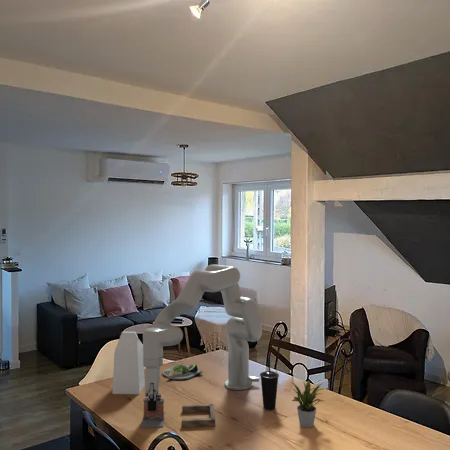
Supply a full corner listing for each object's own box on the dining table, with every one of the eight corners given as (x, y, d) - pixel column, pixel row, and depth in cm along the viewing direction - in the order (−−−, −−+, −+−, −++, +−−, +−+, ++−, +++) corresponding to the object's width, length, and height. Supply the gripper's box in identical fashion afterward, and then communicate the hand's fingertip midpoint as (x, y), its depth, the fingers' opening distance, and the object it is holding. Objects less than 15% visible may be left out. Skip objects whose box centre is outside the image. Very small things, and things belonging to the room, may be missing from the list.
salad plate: (179, 385, 209) (179, 375, 209) (153, 376, 220) (153, 367, 220) (206, 374, 224) (206, 364, 224) (181, 366, 235) (181, 357, 235)
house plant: (334, 433, 162) (334, 388, 161) (297, 436, 160) (297, 390, 159) (319, 416, 176) (319, 374, 176) (285, 418, 174) (285, 376, 173)
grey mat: (164, 413, 179) (164, 412, 179) (162, 427, 167) (162, 426, 167) (144, 413, 178) (144, 412, 178) (141, 427, 166) (141, 426, 166)
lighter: (165, 417, 174) (165, 391, 174) (162, 421, 170) (162, 395, 170) (145, 416, 175) (145, 390, 175) (142, 420, 172) (142, 394, 172)
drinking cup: (278, 412, 179) (278, 362, 179) (258, 410, 181) (258, 361, 180) (279, 404, 187) (279, 356, 186) (261, 403, 188) (261, 355, 188)
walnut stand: (213, 410, 181) (213, 404, 181) (215, 426, 167) (215, 419, 167) (182, 411, 180) (182, 405, 180) (181, 427, 166) (181, 420, 166)
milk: (144, 384, 209) (144, 329, 209) (139, 394, 198) (139, 335, 197) (119, 384, 210) (118, 328, 209) (112, 393, 198) (111, 335, 198)
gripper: (145, 354, 180) (145, 396, 181) (140, 368, 163) (140, 415, 164) (164, 353, 181) (164, 395, 181) (161, 368, 164) (161, 414, 164)
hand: (153, 405), depth 172 cm, fingers open, 9 cm apart
